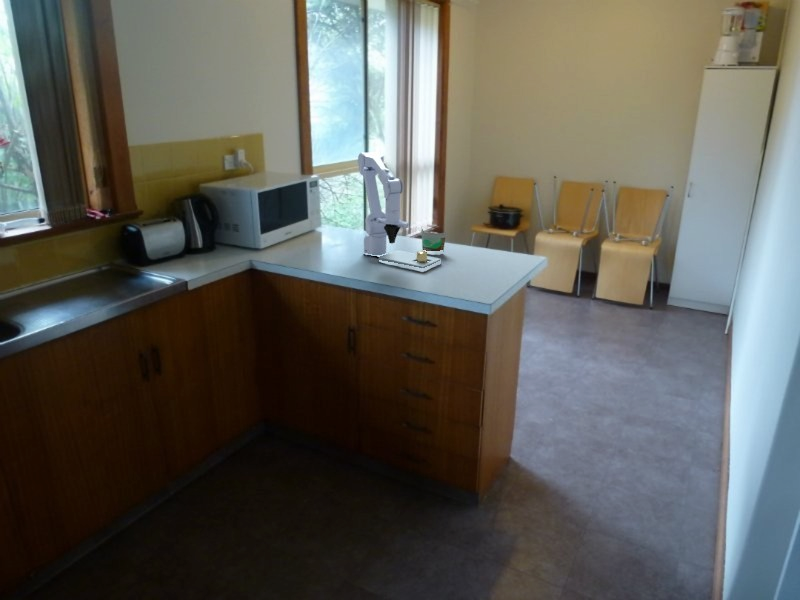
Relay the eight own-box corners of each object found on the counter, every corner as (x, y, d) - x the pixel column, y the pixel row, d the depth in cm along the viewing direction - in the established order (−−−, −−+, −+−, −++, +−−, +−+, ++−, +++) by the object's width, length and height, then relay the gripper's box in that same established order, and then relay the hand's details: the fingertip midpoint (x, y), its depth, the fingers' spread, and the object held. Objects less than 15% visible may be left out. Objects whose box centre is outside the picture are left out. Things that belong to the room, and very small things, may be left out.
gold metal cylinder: (414, 266, 242) (414, 252, 240) (420, 264, 245) (421, 250, 243) (422, 268, 240) (422, 254, 238) (428, 266, 243) (429, 252, 240)
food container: (414, 253, 260) (415, 231, 257) (420, 250, 266) (421, 228, 262) (440, 257, 255) (441, 235, 252) (446, 254, 260) (447, 232, 257)
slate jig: (378, 262, 246) (378, 257, 245) (397, 255, 257) (397, 249, 256) (423, 272, 235) (423, 266, 234) (441, 264, 245) (441, 258, 245)
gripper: (372, 209, 236) (371, 241, 241) (401, 213, 229) (401, 247, 234) (382, 206, 242) (382, 238, 247) (411, 211, 234) (411, 244, 239)
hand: (392, 242), depth 240 cm, fingers closed
